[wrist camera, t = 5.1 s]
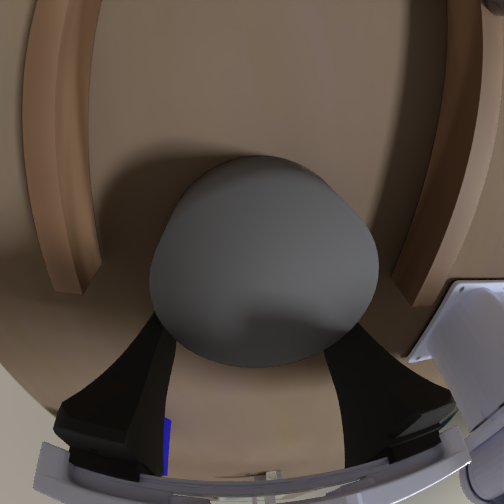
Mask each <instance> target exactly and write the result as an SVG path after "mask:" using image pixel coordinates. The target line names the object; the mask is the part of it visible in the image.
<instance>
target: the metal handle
mask: <svg viewBox="0 0 504 504" xmlns="http://www.w3.org/2000/svg"><path fill="white" fill-rule="evenodd" d="M482 1H483V3H484V4H485V6H486V7H487V9H488V10H489V11H490V12H491V13H492V14H493V15H495V16H504V0H482Z"/></svg>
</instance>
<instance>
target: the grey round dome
mask: <svg viewBox="0 0 504 504" xmlns="http://www.w3.org/2000/svg"><path fill="white" fill-rule="evenodd" d="M378 273H379V261H378V253H377V249H376V245H375V242H374V240H373V237H372V235H371V233H370V231H369V229H368V228H367V226H366V225H365V223H364V222H363V220H362V219H361V218H360V217H359V216H358V215H357V214H356V213H355V212H354V211H353V210H352V209H351V208H350V206H349V205H348V204H347V203H346V202H345V201H344V200H343V199H342V198H341V197H340V196H339V195H338V194H337V193H336V192H335V191H334V190H333V189H332V188H331V187H330V186H329V185H328V184H327V183H326V182H325V181H323V180H322V179H321V178H320V177H319V176H318V175H317V174H315V173H314V172H312V171H311V170H310V169H308V168H306V167H304V166H302V165H300V164H298V163H295V162H293V161H290V160H287V159H282V158H277V157H270V156H252V157H243V158H239V159H235V160H231V161H228V162H226V163H223V164H220V165H218V166H216V167H214V168H212V169H211V170H209V171H207V172H206V173H204V174H203V175H202V176H200V177H199V178H198V179H196V180H195V181H194V182H193V183H192V184H191V185H190V186H189V187H188V188H187V189H186V191H185V192H184V193H183V195H182V196H181V197H180V199H179V201H178V203H177V205H176V206H175V208H174V210H173V213H172V215H171V217H170V219H169V221H168V224H167V226H166V228H165V230H164V233H163V235H162V237H161V240H160V242H159V244H158V247H157V249H156V251H155V254H154V257H153V260H152V264H151V267H150V275H149V291H150V296H151V301H152V305H153V307H154V310H155V312H156V315H157V317H158V318H159V320H160V322H161V323H162V325H163V326H164V327H165V329H166V330H167V331H168V332H169V334H170V335H171V336H172V337H173V338H174V339H175V340H177V341H178V342H179V343H180V344H182V345H183V346H184V347H186V348H187V349H189V350H190V351H192V352H194V353H195V354H197V355H199V356H202V357H204V358H206V359H208V360H211V361H214V362H217V363H221V364H225V365H230V366H237V367H247V368H263V367H273V366H280V365H285V364H290V363H293V362H296V361H300V360H303V359H305V358H308V357H310V356H313V355H315V354H317V353H319V352H321V351H323V350H325V349H326V348H328V347H329V346H331V345H333V344H334V343H336V342H337V341H338V340H339V339H341V338H342V337H343V336H344V335H346V334H347V333H348V332H349V331H350V330H351V329H352V328H353V327H354V326H355V324H356V323H357V322H358V321H359V320H360V318H361V317H362V316H363V314H364V313H365V311H366V310H367V308H368V306H369V304H370V302H371V300H372V298H373V295H374V292H375V290H376V285H377V281H378Z"/></svg>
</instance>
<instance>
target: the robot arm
mask: <svg viewBox="0 0 504 504" xmlns="http://www.w3.org/2000/svg"><path fill="white" fill-rule="evenodd" d="M175 349H176V340H175V339H174V338H173V337H172V336H171V335H170V334H169V332H168V331H167V330H166V329H165V327H164V326H163V325H162V323H161V322H160V320H159V318H158V317H157V315H156V312H155V311H154V313H153V314H152V316H151V317H150V319H149V320H148V322H147V323H146V325H145V326H144V327H143V329H142V330H141V331H140V333H139V334H138V336H137V337H136V338H135V339H134V341H133V342H132V343H131V344H130V346H129V347H128V348H127V349H126V350H125V351H124V353H123V354H122V355H121V356H120V357H119V358H118V359H117V360H116V361H115V362H114V363H113V364H112V365H111V366H110V367H109V368H108V369H107V370H106V371H105V372H104V373H103V374H101V375H100V376H99V377H98V378H97V379H95V380H94V381H93V382H92V383H90V384H89V385H88V386H86V387H85V388H84V389H82V390H81V391H80V392H78V393H76V394H75V395H73V396H72V397H70V398H68V399H67V400H65V401H64V402H62V404H61V406H60V408H59V411H58V413H57V417H56V420H55V423H54V427H53V430H54V432H55V434H56V435H58V437H60V438H61V439H62V440H63V441H64V442H66V443H67V444H68V445H69V446H70V449H69V451H67V450H64V449H62V448H59V447H56V446H54V445H51V444H49V443H46V442H43V443H42V446H41V450H40V454H39V459H38V463H37V468H36V473H35V478H34V484H33V488H34V489H35V490H37V491H38V492H40V493H43V494H45V495H47V496H49V497H51V498H54V499H56V500H58V501H60V502H63V503H65V504H211V503H210V500H208V499H202V498H194V497H187V496H201V497H257V496H271V495H281V494H290V493H297V492H304V491H310V490H316V489H321V488H326V487H331V486H335V485H340V484H344V483H348V482H352V481H356V480H359V479H360V480H359V481H356V482H353V483H350V484H346V485H343V486H341V487H340V488H338V489H336V490H334V491H332V492H329V493H326V496H323V497H319V498H312V499H306V500H300V501H294V502H285V503H277V504H394V503H397V502H399V501H401V500H403V499H405V498H408V497H410V496H412V495H414V494H416V493H418V492H420V491H422V490H424V489H426V488H428V487H430V486H431V485H433V484H435V483H437V482H439V481H440V480H442V479H444V478H446V477H447V476H449V475H451V474H452V473H454V472H456V471H457V470H459V476H460V477H459V478H460V483H461V487H462V490H463V492H464V493H465V495H466V497H467V498H468V499H469V500H470V501H471V502H473V503H475V504H504V280H458V281H455V282H454V283H453V284H452V285H451V287H450V289H449V290H448V292H447V294H446V296H445V298H444V300H443V301H442V303H441V305H440V307H439V308H438V310H437V312H436V314H435V315H434V317H433V319H432V320H431V322H430V323H429V325H428V327H427V328H426V330H425V331H424V333H423V335H422V336H421V338H420V339H419V341H418V342H417V344H416V345H415V347H414V348H413V349H412V351H411V352H410V354H409V355H408V357H407V361H408V362H409V363H412V362H416V361H421V360H426V359H430V358H433V360H434V362H435V364H436V366H437V367H438V369H439V371H440V373H441V375H442V377H443V378H444V380H445V382H446V384H447V386H448V388H449V390H448V389H446V388H443V387H441V386H439V385H437V384H434V383H432V382H430V381H429V380H427V379H425V378H423V377H421V376H420V375H418V374H416V373H415V372H413V371H412V370H410V369H409V368H407V367H406V366H404V365H403V364H402V363H400V362H399V361H398V360H397V359H395V358H394V357H393V356H392V355H390V354H389V353H388V352H387V351H386V350H385V349H384V348H383V347H382V346H380V345H379V344H378V343H377V342H376V341H375V340H374V339H373V338H372V337H371V336H370V335H369V334H368V333H367V332H366V331H365V330H364V328H363V327H362V326H361V325H360V324H359V323H358V322H357V323H356V324H355V326H354V327H353V328H352V329H351V330H350V331H349V332H348V333H347V334H346V335H344V336H343V337H342V338H341V339H339V340H338V341H337V342H336V343H334V344H333V345H331V346H329V347H328V348H326V349H325V350H324V354H325V358H326V361H327V364H328V367H329V370H330V373H331V376H332V380H333V383H334V386H335V389H336V392H337V396H338V400H339V406H340V411H341V418H342V425H343V434H344V447H345V469H341V470H336V471H332V472H326V473H321V474H315V475H309V476H302V477H295V478H287V479H277V480H264V481H241V482H220V481H197V480H184V479H174V478H166V477H161V476H163V475H164V458H163V446H164V418H165V404H166V396H167V390H168V385H169V380H170V375H171V371H172V366H173V361H174V356H175ZM456 404H457V406H458V408H459V410H460V413H461V415H462V417H463V419H464V421H465V423H466V426H467V428H468V430H469V432H470V433H471V432H472V433H471V434H470V435H469V436H468V437H466V438H465V439H463V437H462V435H461V432H460V430H459V428H458V426H457V425H456V426H454V427H452V428H450V429H448V430H445V431H444V432H442V433H440V434H439V431H438V430H439V429H440V428H441V426H440V423H439V422H440V421H441V420H442V419H443V418H444V417H446V416H447V415H448V414H449V413H450V412H451V411H452V410H453V409H454V408H455V405H456ZM173 494H177V495H173ZM178 495H187V496H178Z"/></svg>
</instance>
